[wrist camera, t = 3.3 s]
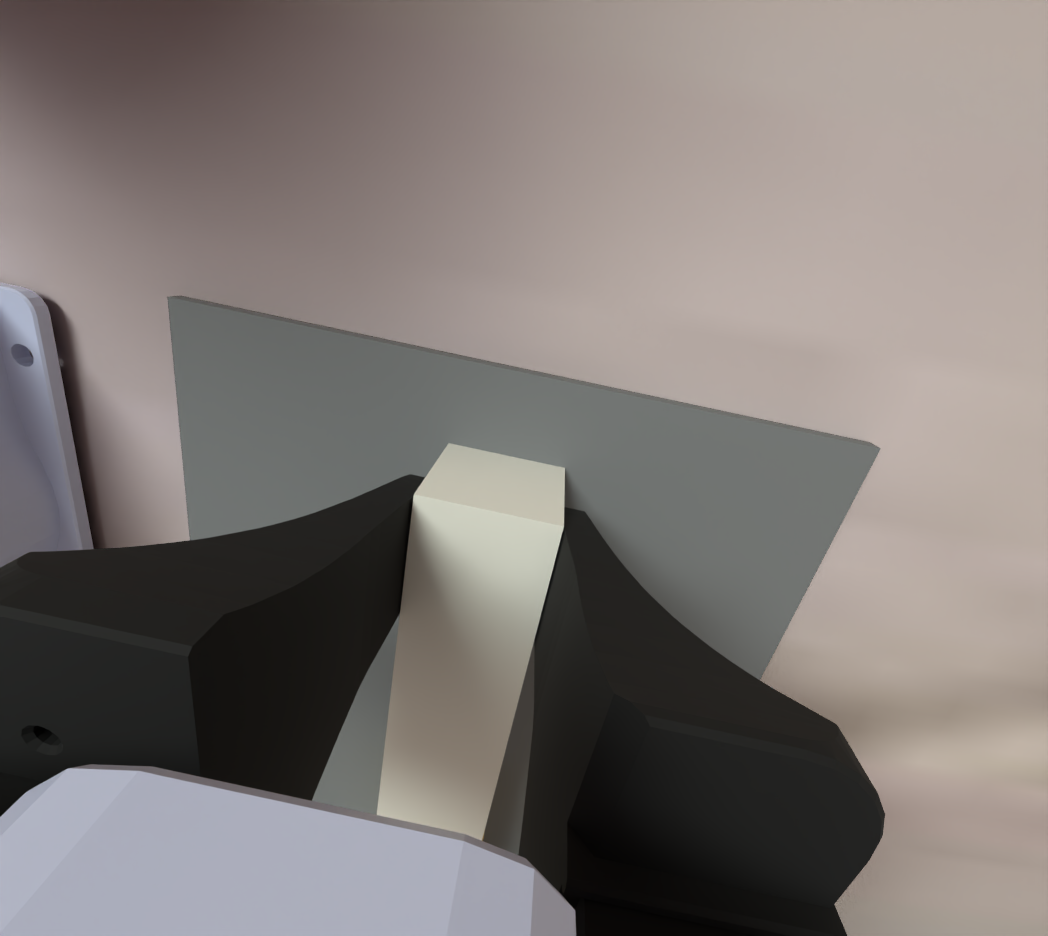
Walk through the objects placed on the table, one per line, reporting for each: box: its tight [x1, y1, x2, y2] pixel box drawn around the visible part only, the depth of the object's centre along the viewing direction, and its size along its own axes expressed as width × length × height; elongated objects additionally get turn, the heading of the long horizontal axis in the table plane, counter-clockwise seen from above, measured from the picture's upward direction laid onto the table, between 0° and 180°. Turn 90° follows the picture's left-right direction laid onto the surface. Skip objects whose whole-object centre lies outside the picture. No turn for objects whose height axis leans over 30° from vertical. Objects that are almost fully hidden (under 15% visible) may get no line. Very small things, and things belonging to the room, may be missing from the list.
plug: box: [377, 443, 565, 841], centre depth 13 cm, size 16×3×3 cm, turn 169°
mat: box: [168, 296, 881, 855], centre depth 18 cm, size 37×16×1 cm, turn 169°
